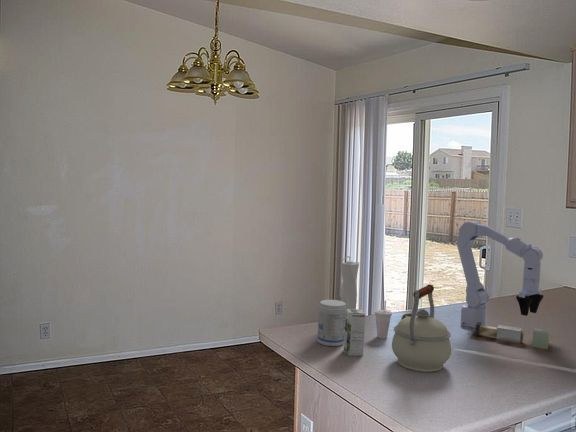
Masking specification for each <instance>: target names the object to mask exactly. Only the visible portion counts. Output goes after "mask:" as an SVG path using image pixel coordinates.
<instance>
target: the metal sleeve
mask: <svg viewBox="0 0 576 432" xmlns="http://www.w3.org/2000/svg"><path fill="white" fill-rule="evenodd" d="M521 331H523V327H516V326H515V327H514V326H507V325H504V324H503V325H502V324H498V325H497V341H503V342H509V343H515V344H520V343H521V341H520V338H521Z"/></svg>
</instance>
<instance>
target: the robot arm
mask: <svg viewBox="0 0 576 432" xmlns="http://www.w3.org/2000/svg"><path fill="white" fill-rule="evenodd" d="M458 231H459V232H458V236H457V240H456V246H457V250H458V254H459V259H460V262H461V265H462V269H463V274H464V278H465V282H466V288H465V294H466V296H465V302H466V304H463V305H462V307H461V312H460V326H463V327H468V328H474V329H476V324H477V323H478V322H481V325H484V326H486V318H487V317H486V315H487V314H486V313H487V305H486V303H488V301H489V293H488V292H487V291H486V290H485V288H484V287H485V286H484V285H483V283H482V282H481V279H480V277H479V272H478V268H477V264H476V261H475V260H476V259H475V257H474V252H473V250H472V244H473V242H474V241H475V240H476V239H477V238H478V237H488V238H489V239H491V240H494V241H496V242H498V243H500V244H501V245H504V246H505V250H506V251H508V252H510V253H512V254H514V255H516V256H517V257H519V258H521V259H523V262H524V266H523V272H522V273H523V275H522V276H523V277H522V287H521V290H520V291H518V293H519V294H518V295H516V296H515V297H516V300H517V302H518V305H519V311H520V315H521V316H525V317H527V316H528V315H529V313H532V314H537V311H538V309H539V306H540V304H541V302H542V301H543V299H544V294H543V292H542V288H540V279H541V278H540V277H541V262H542V259H543V256H544V253H543V251H542V250H541V249H539V247H536V246H533V245H532V244H529V243H526V242H524V241H522V240H521V239H522V238H520V237H508V236H506V235H504V234H503V233H501V232H499V231H498V230H496V229H494V228H492V227H491V226H489V225H487V224H485V223H482V222H480V221H479V220H475V221H466V222H464V223H462V224H461V226H460V227H459V229H458Z"/></svg>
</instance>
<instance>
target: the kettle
mask: <svg viewBox="0 0 576 432" xmlns="http://www.w3.org/2000/svg"><path fill="white" fill-rule="evenodd" d="M434 291H435V287H434V285H432V284H427V285H426V286H423V287H421V288H419V289H418V290H415V291H414V292H413V295H412V296H413V297H414V299H413V300H414V301H413V302H414V303H413V306H412V311H411V313H412V314H411V316H409V317H406V318H403V319H402V320H401V319H400V320H399V321H398V323H397V324H396V326H394V327H393V331H394V334H393V337H392V342H391V350H392V352H393V354H394V355H395V357H396V358H397V363H398V365H400V366H401V367H403V368H405V369H407V370H411V371H415V372H422V373H433V372H435V373H436V372H438V371H440V370H442V369H443V368H444V364H446V362H447V361H448V360H449V359H450V358H451V355H452V345H451V339H450V338H451V336H452V333H451V332H450V331H449V330H448V328H447V326H446V325H445V324H444V323H443V322H442V321H440V320H438V319H437V318H435V303H434V299H433V292H434ZM426 296H427V298H428V303H429V312H428V311H427V310H425V308H422V309H419V304H420V299H421V298H424V297H426ZM418 309H419V310H418ZM416 314H417V315H418V316H416ZM428 316H430V317H428ZM434 318H435V319H434Z"/></svg>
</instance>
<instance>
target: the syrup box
mask: <svg viewBox="0 0 576 432" xmlns="http://www.w3.org/2000/svg"><path fill="white" fill-rule="evenodd" d="M365 324H366V313H365V312H364V311H363V310H362V309H360V308H359V309H358V308H356V309H346V319H345V334H344V343H343V351H344V354H345V355H346V357H347V356H348V357H353V356H354V357H358V356H359V357H361V356H364V348H365V347H364V343H365V328H366V327H365V326H366V325H365Z"/></svg>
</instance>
